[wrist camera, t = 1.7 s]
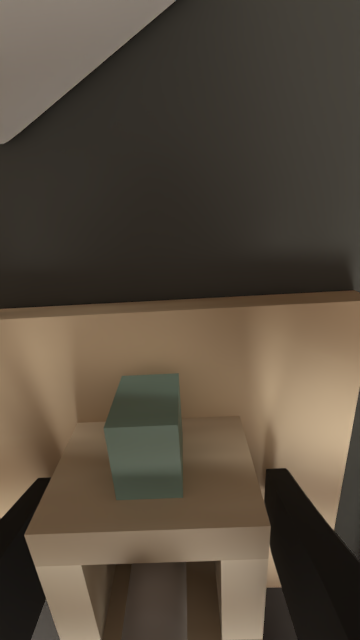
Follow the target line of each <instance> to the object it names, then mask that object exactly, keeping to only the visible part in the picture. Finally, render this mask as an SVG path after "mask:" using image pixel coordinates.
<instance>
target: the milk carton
mask: <svg viewBox="0 0 360 640" xmlns="http://www.w3.org/2000/svg"><path fill="white" fill-rule="evenodd" d="M175 1H176V0H0V144H4V143H6V142H8V141H9V140H11V139H12V138H13V137H15V136H16V135H17V134H18V133H20V132H21V131H22V130H23V129H24V128H26V127H27V126H28V125H29V124H30V123H32V122H33V121H34V120H35V119H36V118H38V117H39V116H40V115H41V114H42V113H43V112H45V111H46V110H47V109H48V108H49V107H51V106H52V105H53V104H54V103H55V102H56V101H58V100H59V99H60V98H61V97H62V96H64V95H65V94H66V93H67V92H68V91H69V90H71V89H72V88H73V87H74V86H75V85H77V84H78V83H79V82H80V81H81V80H82V79H84V78H85V77H86V76H87V75H88V74H90V73H91V72H92V71H93V70H94V69H95V68H97V67H98V66H99V65H100V64H101V63H103V62H104V61H105V60H106V59H107V58H108V57H110V56H111V55H112V54H113V53H114V52H116V51H117V50H118V49H119V48H120V47H122V46H123V45H124V44H125V43H126V42H127V41H129V40H130V39H131V38H132V37H133V36H135V35H136V34H137V33H138V32H139V31H140V30H142V29H143V28H144V27H145V26H146V25H148V24H149V23H150V22H151V21H152V20H153V19H155V18H156V17H157V16H158V15H159V14H161V13H162V12H163V11H164V10H165V9H166V8H168V7H169V6H170V5H171V4H172V3H174V2H175Z"/></svg>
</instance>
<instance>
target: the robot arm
mask: <svg viewBox="0 0 360 640" xmlns="http://www.w3.org/2000/svg"><path fill="white" fill-rule="evenodd" d="M51 478H52V477H47V478H38V479H37V480H36V481H35V482H34V483H33V484H32V485H31V486H30V487H29V488H28V489H27V490H26V491H25V493H24V494H23V495H22V496H21V497H20V498H19V499H18V500H17V501H16V503H15V504H14V505H13V506H12V507H11V508H10V509H9V510H8V511H7V513H6V514H5V515H4V516H3V517H2V518H1V519H0V640H31V638H32V635H33V632H34V629H35V627H36V624H37V621H38V618H39V616H40V613H41V610H42V608H43V605H44V602H45V599H46V597H45V594H44V591H43V588H42V585H41V582H40V580H39V577H38V574H37V571H36V568H35V565H34V562H33V559H32V556H31V554H30V551H29V548H28V545H27V542H26V539H25V536H24V534H25V532H26V530H27V528H28V526H29V524H30V521H31V519H32V517H33V515H34V513H35V511H36V509H37V507H38V505H39V503H40V501H41V498H42V496H43V494H44V492H45V490H46V488H47V486H48V484H49V482H50V480H51ZM264 504H265V507H266V511H267V515H268V518H269V522H270V525H271V530H270V544H269V545H270V549H271V554H272V557H273V561H274V564H275V567H276V571H277V574H278V577H279V580H280V584H281V587H282V590H283V593H284V596H285V600H286V603H287V606H288V609H289V613H290V616H291V619H292V622H293V625H294V629H295V632H296V635H297V638H298V640H360V561H359V560H358V559H357V558H356V557H355V555H354V554H353V553H352V552H351V551H350V550H349V548H348V547H347V546H346V545H345V544H344V542H343V541H342V540H341V539H340V538H339V536H338V535H337V534H336V533H335V531H334V530H333V529H332V528H331V526H330V525H329V524H328V523H327V522H326V520H325V519H324V518H323V516H322V515H321V514H320V513H319V511H318V510H317V509H316V507H315V506H314V505H313V503H312V502H311V501H310V499H309V498H308V497H307V495H306V494H305V493H304V491H303V490H302V489H301V487H300V486H299V484H298V483H297V482H296V480H295V479H294V477H293V476H292V475H291V473H290V472H289V470H287V469H286V468H274V469H266V478H265V495H264Z"/></svg>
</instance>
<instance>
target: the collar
mask: <svg viewBox="0 0 360 640" xmlns="http://www.w3.org/2000/svg"><path fill="white" fill-rule="evenodd" d="M270 530H271V525H270V522H269V518H268V515H267V511H266V507H265V504H264V500H263V497H262V493H261V490H260V486H259V483H258V479H257V475H256V472H255V468H254V465H253V461H252V458H251V454H250V451H249V447H248V444H247V440H246V436H245V433H244V429H243V426H242V422H241V419H240V416H223V417H200V418H182V416H181V401H180V386H179V373H173V374H151V375H130V376H122V377H121V380H120V382H119V385H118V388H117V391H116V394H115V397H114V399H113V402H112V405H111V408H110V411H109V414H108V417H107V419H106V422H86V423H77V425H76V427H75V430H74V432H73V434H72V436H71V438H70V440H69V442H68V444H67V446H66V448H65V450H64V453H63V455H62V457H61V459H60V461H59V463H58V465H57V467H56V469H55V471H54V473H53V476H52V478H51V480H50V482H49V484H48V486H47V488H46V490H45V492H44V494H43V496H42V498H41V501H40V503H39V505H38V507H37V509H36V511H35V513H34V515H33V517H32V519H31V521H30V524H29V526H28V528H27V530H26V532H25V534H24V536H25V539H26V542H27V545H28V548H29V551H30V554H31V556H32V559H33V562H34V565H35V568H36V571H37V574H38V577H39V580H40V582H41V585H42V588H43V591H44V594H45V597H46V600H47V603H48V606H49V608H50V611H51V614H52V617H53V620H54V623H55V626H56V629H57V632H58V634H59V637H60V640H121V638H122V630H123V623H124V616H125V609H126V601H127V594H128V587H129V580H130V572H131V565H132V563H162V562H186V584H187V640H263V627H264V613H265V599H266V585H267V571H268V558H269V544H270Z"/></svg>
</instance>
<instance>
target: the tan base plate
mask: <svg viewBox="0 0 360 640" xmlns="http://www.w3.org/2000/svg"><path fill="white" fill-rule="evenodd" d="M173 373H179V386H180V401H181V416H182V418H200V417H223V416H240V419H241V422H242V426H243V429H244V433H245V436H246V440H247V444H248V447H249V451H250V454H251V458H252V461H253V465H254V468H255V472H256V475H257V479H258V483H259V486H260V490H261V493H262V497H263V500H264V495H265V478H266V469H274V468H286V469H287V470H289V472H290V473H291V475H292V476H293V477H294V479H295V480H296V482H297V483H298V484H299V486H300V487H301V489H302V490H303V491H304V493H305V494H306V495H307V497H308V498H309V499H310V501H311V502H312V503H313V505H314V506H315V507H316V509H317V510H318V511H319V513H320V514H321V515H322V516H323V518H324V519H325V520H326V522H327V523H328V524H329V525H330V526H331V528H332V529H333V530H334V527H335V521H336V516H337V510H338V505H339V499H340V494H341V488H342V482H343V477H344V471H345V466H346V460H347V455H348V449H349V443H350V438H351V432H352V427H353V421H354V416H355V410H356V404H357V399H358V393H359V388H360V293H359V292H357V291H355V290H352V291H333V292H314V293H294V294H275V295H256V296H237V297H218V298H199V299H180V300H161V301H142V302H123V303H104V304H85V305H66V306H47V307H28V308H8V309H0V518H2V517H3V516H4V515H5V514H6V513H7V511H8V510H9V509H10V508H11V507H12V506H13V505H14V504H15V503H16V501H17V500H18V499H19V498H20V497H21V496H22V495H23V494H24V493H25V491H26V490H27V489H28V488H29V487H30V486H31V485H32V484H33V483H34V482H35V481H36V480H37V479H38V478H47V477H52V476H53V473H54V471H55V469H56V467H57V465H58V463H59V461H60V459H61V457H62V455H63V453H64V450H65V448H66V446H67V444H68V442H69V440H70V438H71V436H72V434H73V432H74V430H75V427H76V425H77V423H86V422H106V419H107V417H108V414H109V411H110V408H111V405H112V402H113V399H114V397H115V394H116V391H117V388H118V385H119V382H120V380H121V377H122V376H130V375H151V374H173ZM273 587H281V584H280V580H279V577H278V574H277V571H276V567H275V564H274V561H273V557H272V554H271V549H270V545H269V558H268V571H267V585H266V588H273ZM121 640H187V584H186V562H162V563H132V565H131V572H130V580H129V587H128V594H127V601H126V609H125V616H124V623H123V630H122V638H121Z"/></svg>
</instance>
